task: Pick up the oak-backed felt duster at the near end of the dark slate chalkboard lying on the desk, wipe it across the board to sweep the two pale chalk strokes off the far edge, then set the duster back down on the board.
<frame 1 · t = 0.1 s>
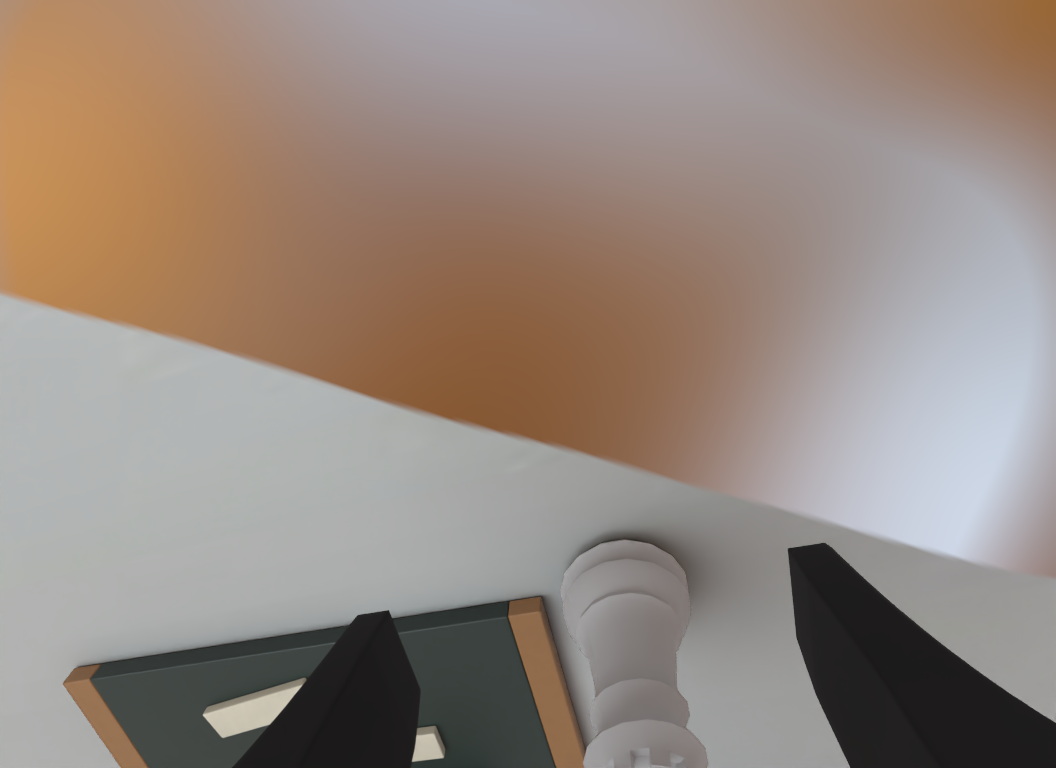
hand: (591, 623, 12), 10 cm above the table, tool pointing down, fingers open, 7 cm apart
chalk mark 2: (264, 703, 27), point 1 cm above the table, touching chalkboard
chalk mark 1: (386, 744, 28), point 1 cm above the table, touching chalkboard
chalkboard: (352, 749, 29), on the table
rook chess piece: (622, 579, 25), on the table
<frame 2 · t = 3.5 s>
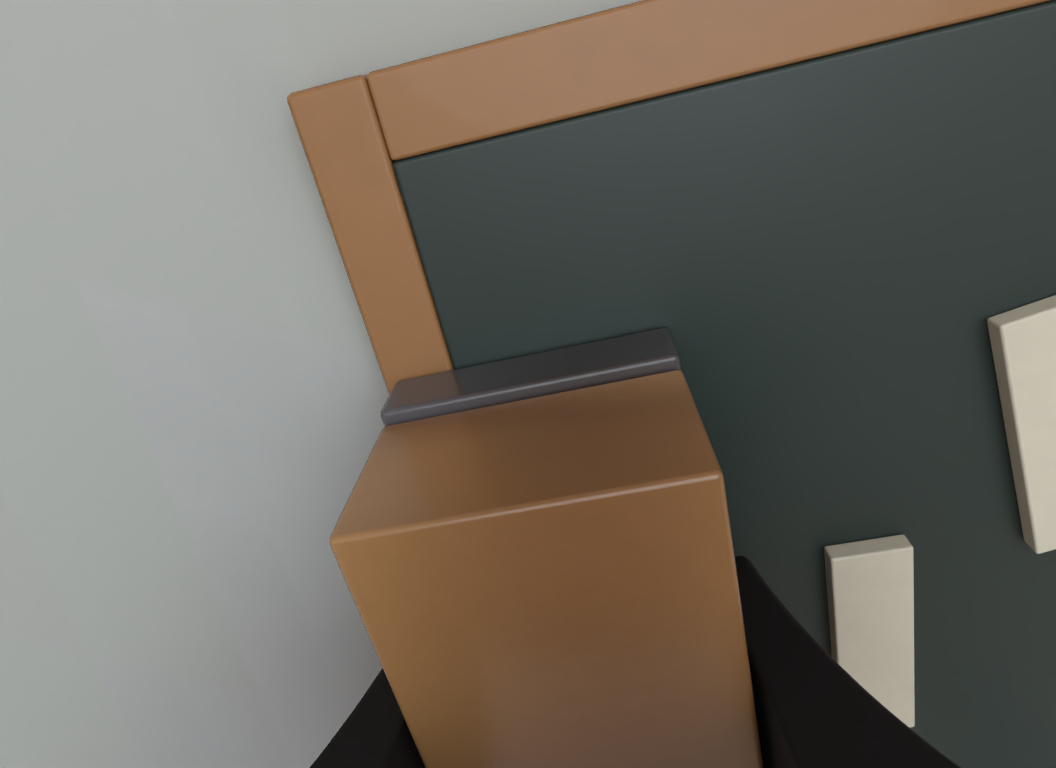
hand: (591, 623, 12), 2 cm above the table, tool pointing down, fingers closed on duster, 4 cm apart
chalk mark 2: (1050, 423, 11), point 1 cm above the table, touching chalkboard
chalk mark 1: (867, 633, 13), point 1 cm above the table, touching chalkboard
chalkboard: (793, 532, 13), on the table
duster: (587, 592, 13), point 1 cm above the table, touching chalkboard, gripper
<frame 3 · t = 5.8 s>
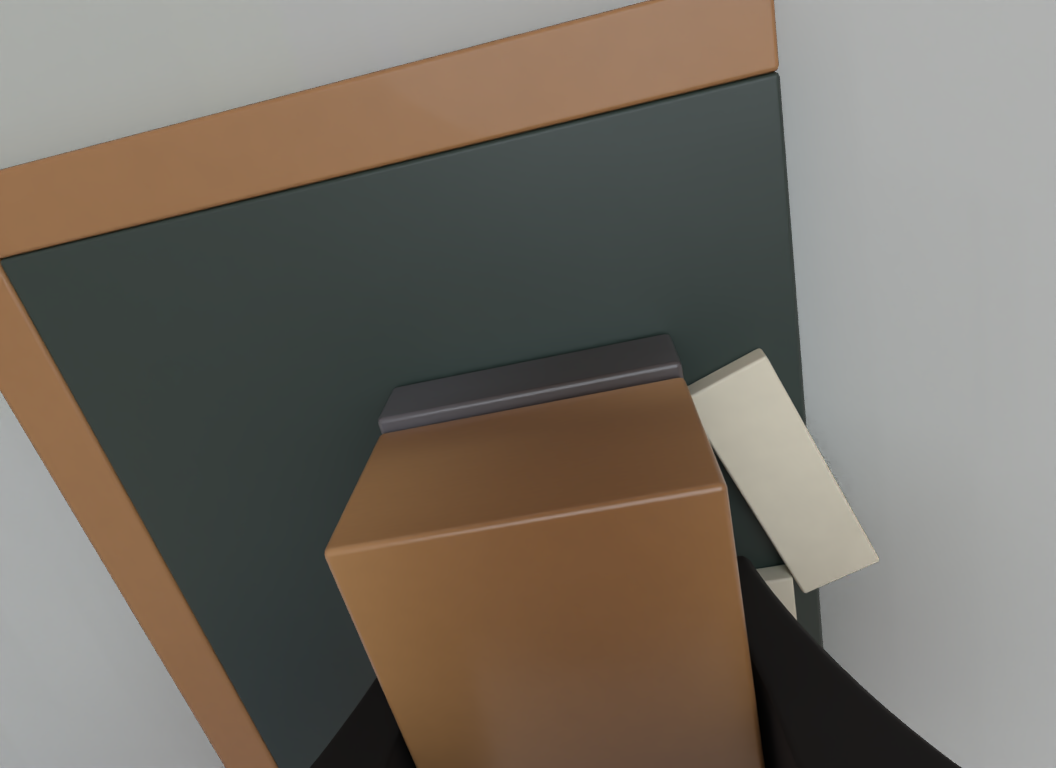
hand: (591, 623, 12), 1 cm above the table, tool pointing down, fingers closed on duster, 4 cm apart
chalk mark 2: (779, 472, 12), point 1 cm above the table, touching chalkboard
chalk mark 1: (758, 660, 13), point 1 cm above the table, touching chalkboard, duster
chalkboard: (473, 589, 14), on the table
duster: (588, 600, 13), point 1 cm above the table, touching chalk mark 1, gripper
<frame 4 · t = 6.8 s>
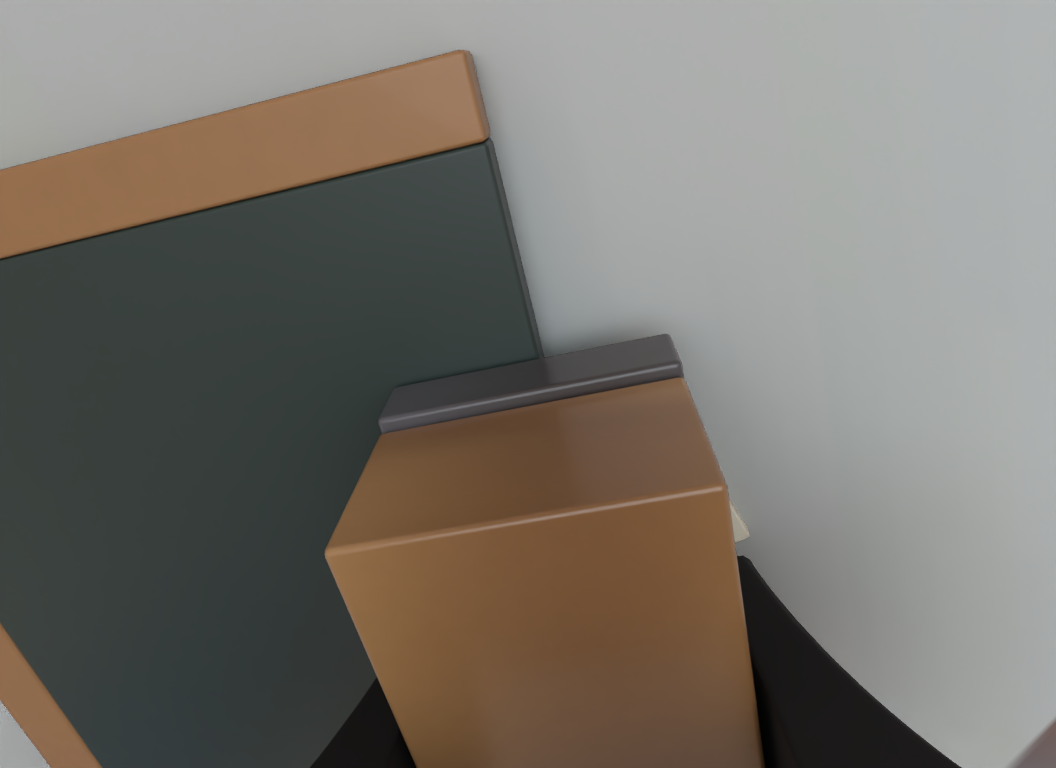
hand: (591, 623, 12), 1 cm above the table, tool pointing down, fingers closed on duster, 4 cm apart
chalk mark 2: (658, 453, 13), on the table
chalkboard: (289, 618, 15), on the table
duster: (588, 600, 13), point 1 cm above the table, touching gripper
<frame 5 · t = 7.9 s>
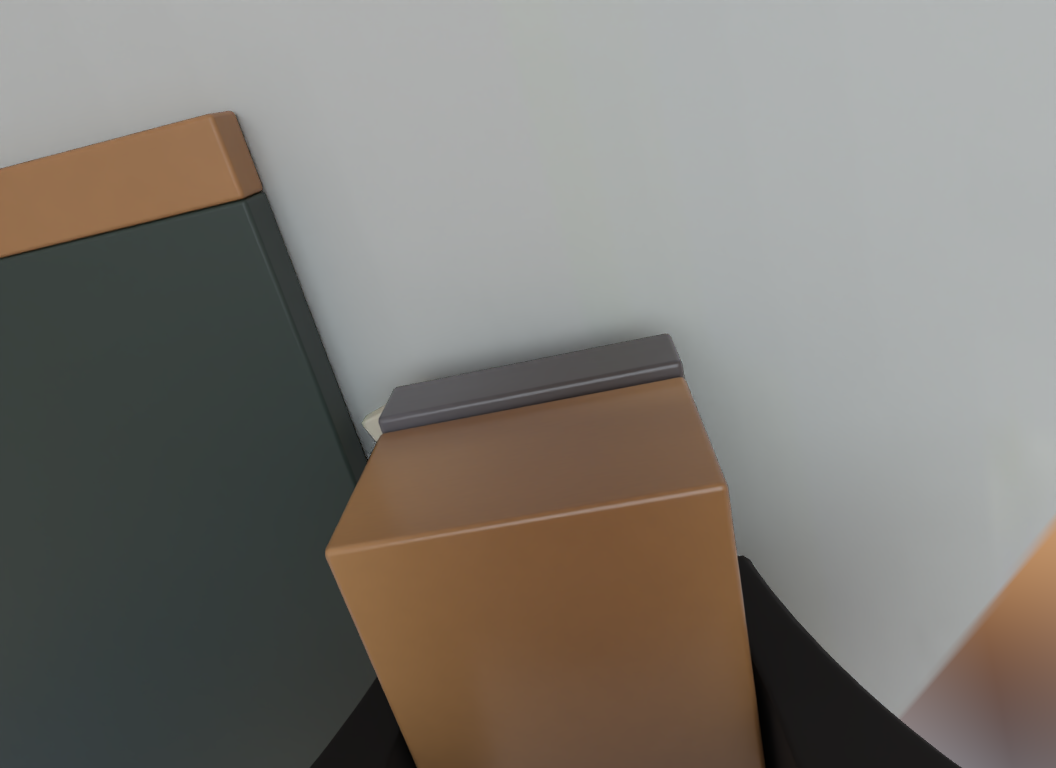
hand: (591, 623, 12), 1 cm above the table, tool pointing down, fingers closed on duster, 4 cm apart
chalk mark 2: (467, 487, 13), on the table
chalkboard: (132, 642, 15), on the table
duster: (588, 600, 13), point 1 cm above the table, touching gripper
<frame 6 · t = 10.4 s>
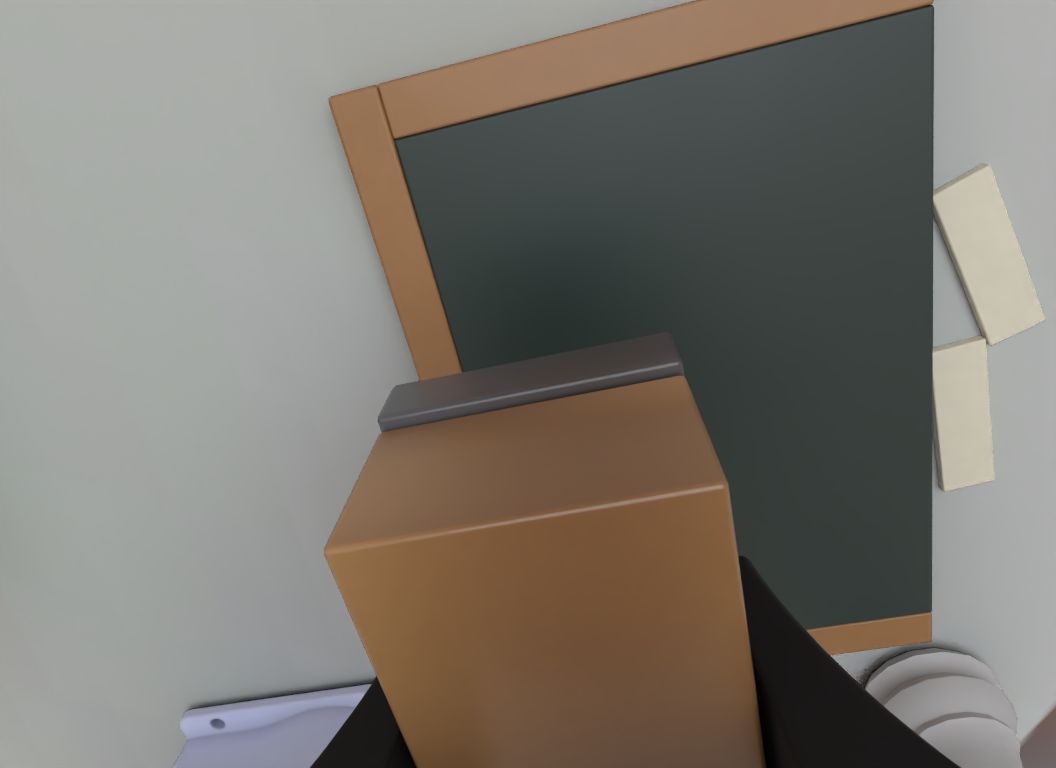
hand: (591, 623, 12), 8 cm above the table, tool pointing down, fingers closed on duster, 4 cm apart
chalk mark 2: (981, 256, 17), on the table
chalk mark 1: (956, 412, 19), on the table
chalkboard: (672, 399, 19), on the table
rook chess piece: (918, 685, 24), on the table
duster: (588, 599, 13), point 7 cm above the table, touching gripper
when the fingers open (1 cm above the table, at t = 12.4 s): duster stays where it is, resting on chalkboard.
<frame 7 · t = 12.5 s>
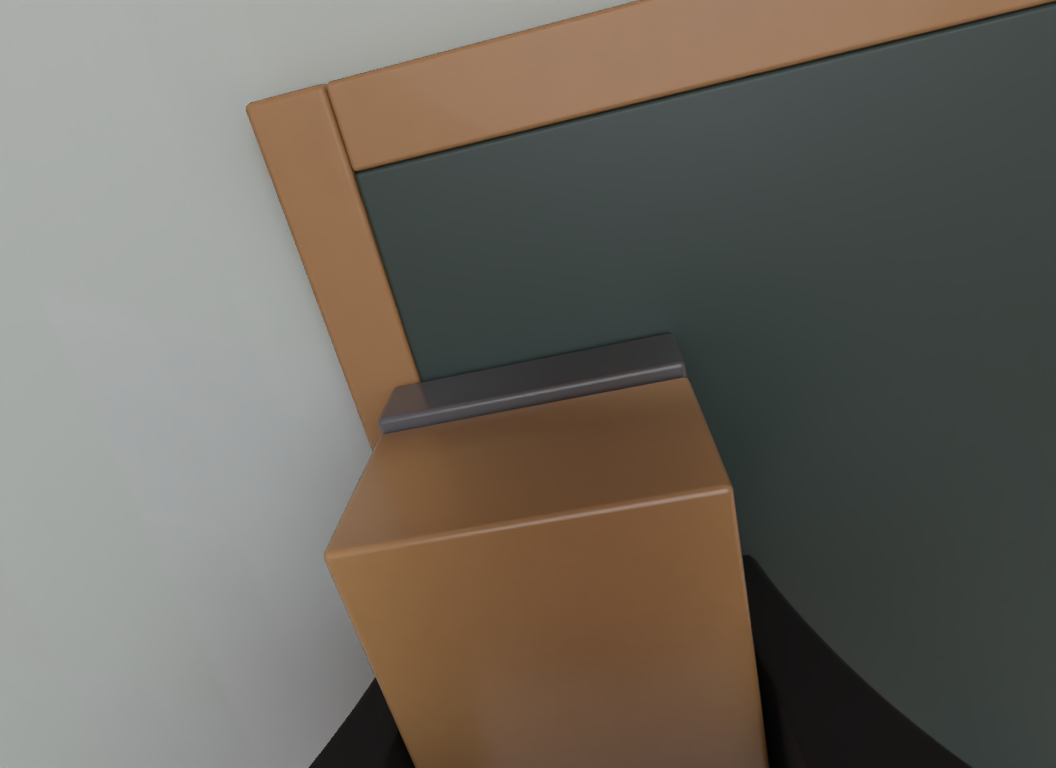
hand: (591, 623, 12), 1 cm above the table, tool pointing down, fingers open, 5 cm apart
chalkboard: (771, 546, 13), on the table
duster: (590, 602, 13), point 1 cm above the table, touching chalkboard
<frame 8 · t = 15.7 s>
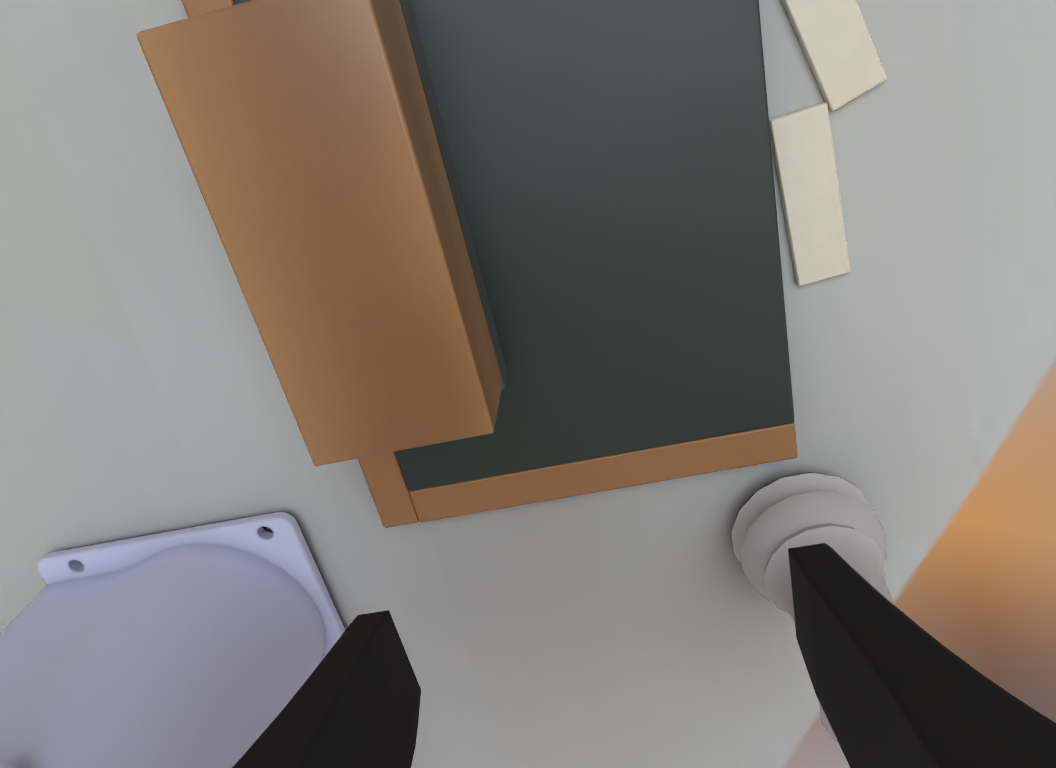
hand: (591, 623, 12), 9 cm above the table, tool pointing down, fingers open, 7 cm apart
chalk mark 2: (818, 8, 17), on the table
chalk mark 1: (807, 196, 18), on the table
chalkboard: (511, 182, 18), on the table
rook chess piece: (796, 519, 23), on the table
duster: (379, 217, 18), point 1 cm above the table, touching chalkboard
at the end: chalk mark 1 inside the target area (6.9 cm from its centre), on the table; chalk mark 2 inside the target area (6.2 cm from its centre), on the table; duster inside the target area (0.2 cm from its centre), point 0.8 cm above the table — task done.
